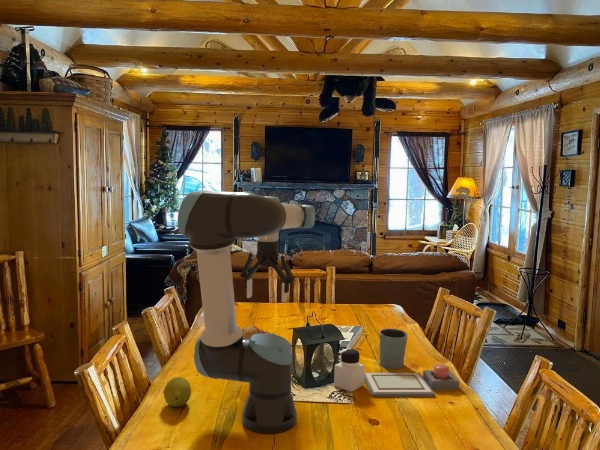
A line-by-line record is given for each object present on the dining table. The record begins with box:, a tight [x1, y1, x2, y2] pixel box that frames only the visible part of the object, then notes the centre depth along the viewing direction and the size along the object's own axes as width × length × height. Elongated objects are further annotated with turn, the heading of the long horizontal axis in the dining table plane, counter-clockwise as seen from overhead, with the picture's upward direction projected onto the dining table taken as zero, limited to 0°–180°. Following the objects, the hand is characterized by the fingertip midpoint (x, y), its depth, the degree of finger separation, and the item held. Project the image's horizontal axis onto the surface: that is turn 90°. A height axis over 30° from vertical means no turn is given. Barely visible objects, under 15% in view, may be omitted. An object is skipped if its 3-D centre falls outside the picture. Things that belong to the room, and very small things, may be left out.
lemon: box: [163, 376, 192, 408], centre depth 142 cm, size 11×8×8 cm
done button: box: [433, 363, 450, 379], centre depth 161 cm, size 5×5×4 cm
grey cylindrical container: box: [379, 328, 408, 370], centre depth 177 cm, size 10×10×12 cm
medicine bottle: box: [333, 347, 365, 393], centre depth 158 cm, size 7×7×12 cm
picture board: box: [364, 372, 436, 398], centre depth 160 cm, size 16×20×2 cm
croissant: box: [241, 324, 275, 339], centre depth 198 cm, size 21×10×8 cm, turn 96°
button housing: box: [422, 369, 460, 391], centre depth 161 cm, size 9×9×3 cm
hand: (266, 299), depth 173 cm, fingers open, 13 cm apart
